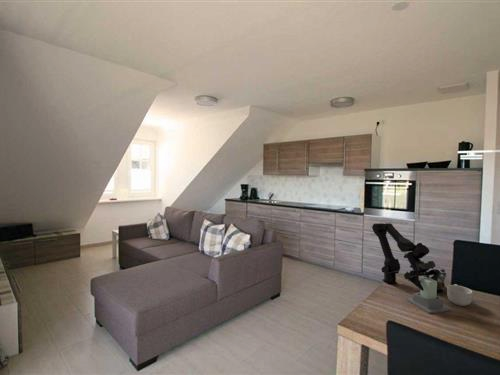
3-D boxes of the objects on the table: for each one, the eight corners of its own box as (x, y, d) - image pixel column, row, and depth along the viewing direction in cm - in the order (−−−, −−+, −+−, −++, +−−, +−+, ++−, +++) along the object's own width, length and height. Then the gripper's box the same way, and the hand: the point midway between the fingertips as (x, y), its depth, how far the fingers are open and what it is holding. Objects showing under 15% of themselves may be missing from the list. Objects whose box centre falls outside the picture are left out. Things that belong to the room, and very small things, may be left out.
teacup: (472, 310, 136) (473, 295, 135) (445, 303, 142) (446, 289, 141) (470, 299, 147) (471, 286, 146) (446, 294, 153) (447, 280, 153)
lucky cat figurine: (413, 283, 167) (418, 262, 170) (430, 290, 167) (434, 269, 171) (431, 287, 152) (436, 264, 156) (450, 295, 153) (455, 271, 156)
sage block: (419, 301, 142) (421, 278, 141) (428, 300, 143) (429, 277, 142) (427, 306, 137) (428, 282, 137) (435, 305, 138) (437, 281, 137)
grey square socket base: (406, 300, 145) (406, 291, 145) (426, 297, 149) (426, 288, 148) (429, 313, 132) (429, 304, 132) (450, 310, 135) (451, 301, 135)
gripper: (408, 256, 141) (424, 285, 131) (439, 254, 144) (456, 282, 134) (397, 265, 149) (411, 293, 139) (426, 263, 152) (442, 290, 142)
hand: (430, 289), depth 138 cm, fingers open, 9 cm apart
